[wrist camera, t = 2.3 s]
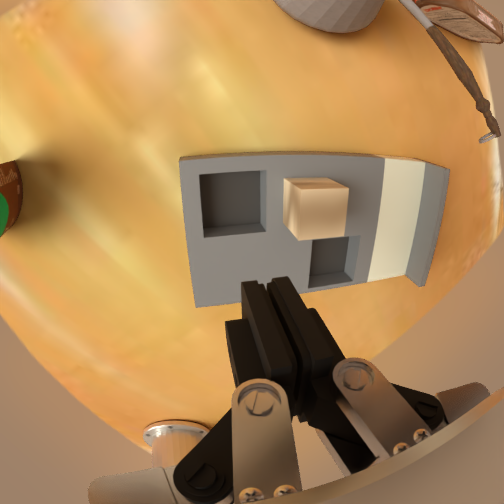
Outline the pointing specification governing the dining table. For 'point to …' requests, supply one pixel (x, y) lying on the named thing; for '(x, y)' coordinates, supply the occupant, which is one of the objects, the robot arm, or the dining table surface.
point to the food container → (9, 195)
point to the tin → (463, 19)
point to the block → (314, 207)
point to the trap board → (314, 250)
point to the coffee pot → (362, 14)
